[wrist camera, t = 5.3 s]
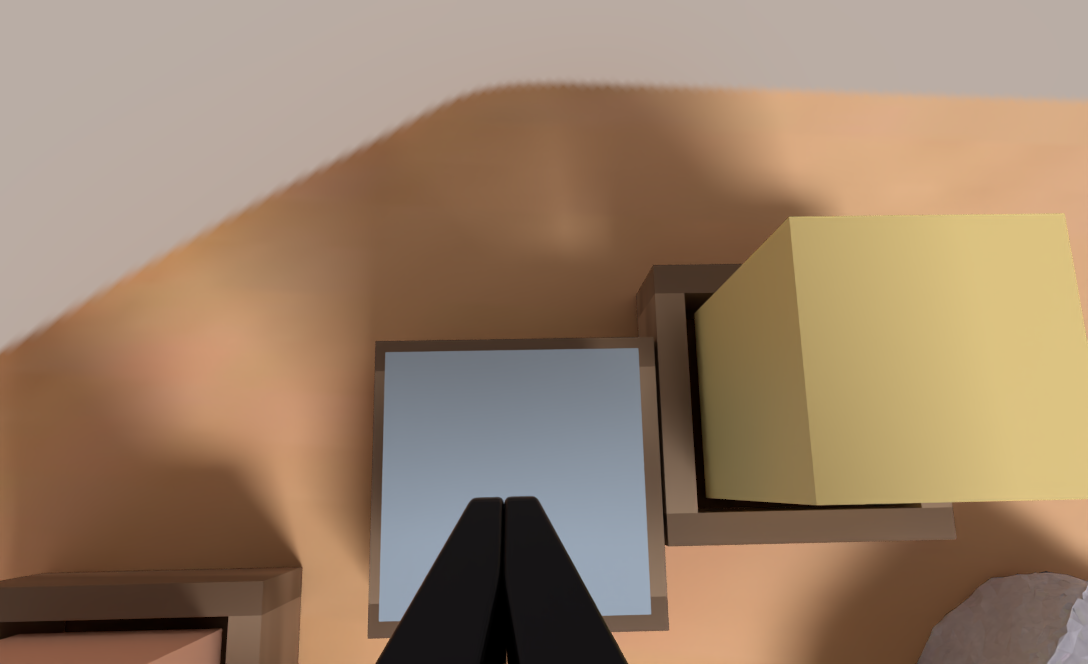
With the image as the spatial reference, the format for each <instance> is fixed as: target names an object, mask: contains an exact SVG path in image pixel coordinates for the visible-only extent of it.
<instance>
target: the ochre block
mask: <svg viewBox="0 0 1088 664" xmlns="http://www.w3.org/2000/svg"><path fill="white" fill-rule="evenodd" d="M694 317H695V333H696V348H697V363H698V379H699V394H700V410H701V425H702V440H703V456H704V471H705V487H706V498H717V499H731V500H746V501H761V502H776V503H791V504H805V505H851V504H896V503H940V502H985V501H1030V500H1075V499H1088V343H1087V337H1086V331H1085V326H1084V320H1083V315H1082V309H1081V303H1080V298H1079V292H1078V286H1077V281H1076V275H1075V269H1074V264H1073V258H1072V253H1071V247H1070V241H1069V236H1068V230H1067V224H1066V219H1065V213H1061V214H973V215H885V216H797V217H788V218H787V219H786V220H785V221H784V222H783V223H782V224H781V225H780V227H779V228H778V229H777V230H776V231H775V232H774V233H773V234H772V235H771V236H770V237H769V238H768V239H767V240H766V241H765V242H764V243H763V244H762V245H761V246H760V247H759V248H758V249H757V250H756V251H755V252H754V253H753V254H752V255H751V256H750V257H749V258H748V259H747V260H746V261H745V262H744V263H743V264H742V265H741V266H740V267H739V268H738V270H737V271H736V272H735V273H734V274H733V275H732V276H731V277H730V278H729V279H728V280H727V281H726V282H725V283H724V284H723V285H722V286H721V287H720V288H719V289H718V290H717V291H716V292H715V293H714V294H713V295H712V296H711V297H710V298H709V299H708V300H707V301H706V302H705V303H704V304H703V305H702V306H701V307H700V308H699V309H698V310H697V311H696V313H695V314H694Z"/></svg>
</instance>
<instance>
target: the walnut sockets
mask: <svg viewBox="0 0 1088 664" xmlns="http://www.w3.org/2000/svg"><path fill="white" fill-rule="evenodd" d="M741 265H742V264H709V265H653V267H652V269H651V270H650V272H649V274H648V275H647V277H646V279H645V281H644V282H643V284H642V286H641V288H640V289H639V291H638V293H637V295H636V301H637V322H638V337H617V338H554V339H491V340H428V341H376V348H375V385H374V422H373V459H372V496H371V533H370V570H369V607H368V639H371V638H391V636H392V634H393V633H394V631H395V629H396V627H397V626H398V624H399V622H400V621H383V622H379V593H380V552H381V511H382V469H383V428H384V387H385V352H431V351H492V350H554V349H615V348H638V350H639V370H640V391H641V412H642V432H643V453H644V474H645V495H646V515H647V536H648V557H649V577H650V598H651V614H649V615H611V616H602V617H603V619H604V620H605V622H606V624H607V626H608V628H609V630H610V631H611V632H631V631H668V630H669V619H668V600H667V582H666V563H665V545H667V546H701V545H743V544H785V543H827V542H869V541H911V540H953V539H957V537H956V530H955V522H954V515H953V507H952V502H940V503H896V504H865V505H831V506H786V507H741V508H698V505H697V489H696V473H695V457H694V441H693V425H692V409H691V393H690V377H689V361H688V345H687V329H686V319H695V317H694V314H695V313H696V311H697V310H698V309H699V308H700V307H701V306H702V305H703V304H704V303H705V302H706V301H707V300H708V299H709V298H710V297H711V296H712V295H713V294H714V293H715V292H716V291H717V290H718V289H719V288H720V287H721V286H722V285H723V284H724V283H725V282H726V281H727V280H728V279H729V278H730V277H731V276H732V275H733V274H734V273H735V272H736V271H737V270H738V268H739V267H740V266H741ZM301 586H302V567H282V568H241V569H200V570H158V571H117V572H76V573H41V574H36V575H30V576H25V577H19V578H14V579H8V580H3V581H0V640H1V639H4V638H7V637H11V636H14V635H18V634H35V633H64V632H65V623H66V620H103V619H142V618H180V617H219V616H228V632H227V648H226V663H225V664H298V652H299V630H300V608H301Z"/></svg>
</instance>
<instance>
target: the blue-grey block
mask: <svg viewBox="0 0 1088 664" xmlns="http://www.w3.org/2000/svg"><path fill="white" fill-rule="evenodd" d="M511 496H534V497H536V498H537V499H538V500H539V501H540V503H541V505H542V507H543V509H544V510H545V512H546V514H547V516H548V518H549V520H550V521H551V523H552V525H553V527H554V529H555V531H556V532H557V534H558V536H559V538H560V540H561V542H562V543H563V545H564V547H565V549H566V551H567V553H568V554H569V556H570V558H571V560H572V562H573V564H574V565H575V567H576V569H577V571H578V573H579V575H580V576H581V578H582V580H583V582H584V584H585V586H586V587H587V589H588V591H589V593H590V595H591V597H592V598H593V600H594V602H595V604H596V606H597V608H598V609H599V611H600V613H601V615H602V616H611V615H649V614H651V598H650V577H649V557H648V536H647V515H646V495H645V474H644V453H643V432H642V412H641V391H640V370H639V350H638V348H615V349H554V350H492V351H431V352H385V387H384V428H383V469H382V511H381V552H380V593H379V622H383V621H400V620H401V619H402V617H403V615H404V613H405V612H406V610H407V608H408V607H409V605H410V603H411V601H412V600H413V598H414V596H415V594H416V593H417V591H418V589H419V588H420V586H421V584H422V582H423V581H424V579H425V577H426V575H427V574H428V572H429V570H430V569H431V567H432V565H433V563H434V562H435V560H436V558H437V556H438V555H439V553H440V551H441V550H442V548H443V546H444V544H445V543H446V541H447V539H448V537H449V536H450V534H451V532H452V530H453V529H454V527H455V525H456V524H457V522H458V520H459V518H460V517H461V515H462V513H463V511H464V510H465V508H466V506H467V505H468V503H469V502H470V500H472V499H473V498H478V497H500V498H502V499H503V501H504V502H505V499H506V498H507V497H511Z"/></svg>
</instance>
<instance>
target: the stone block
mask: <svg viewBox="0 0 1088 664" xmlns="http://www.w3.org/2000/svg"><path fill="white" fill-rule="evenodd" d="M917 664H1088V581H1084V580H1081V579H1079V578H1076V577H1073V576H1070V575H1066V574H1056V573H1051V572H1047V571H1045V572H1041V573H1036V572H1034V573H1033V574H1016V575H1013V576H1007V577H995V578H990V579H989V580H987V581H986V582H985V583H984V584H982V585H980V586H979V587H978V588H977V589H976V590H975V591H974V593H973V594H972V595H971V596H970V597H969V598H968V599H966V600H965V601H964V602H963V603H962V604H960V605H959V606H958V607H956V608H955V609H954V610H952V611H951V612H949V613H948V614H946V615H945V617H944V618H943V619H942V620H941V621H940V622H939V623H938V624H937V625H935V626H934V627H933V629H932V632H931V635H930V637H929V639H928V641H927V643H926V645H925V647H924V650H923V652H922V654H921V656H920V657H919V660H918V662H917Z"/></svg>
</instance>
